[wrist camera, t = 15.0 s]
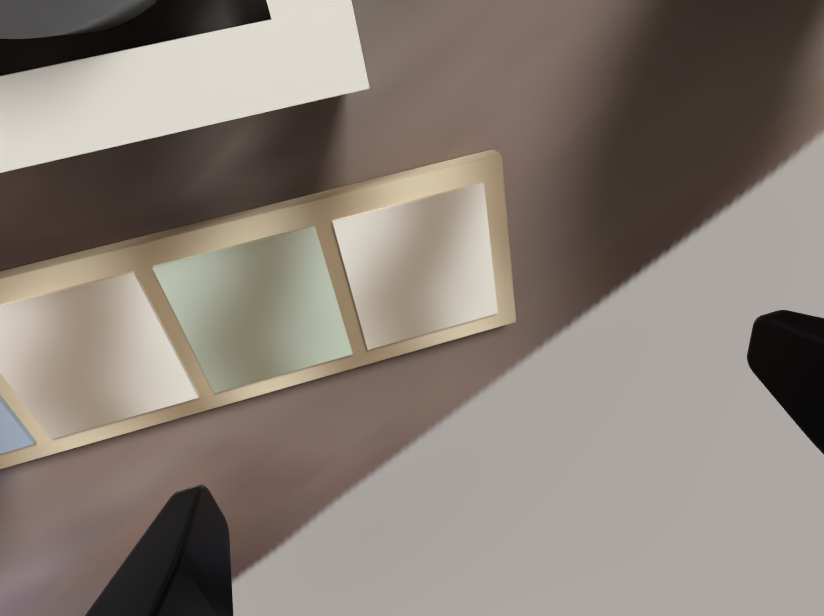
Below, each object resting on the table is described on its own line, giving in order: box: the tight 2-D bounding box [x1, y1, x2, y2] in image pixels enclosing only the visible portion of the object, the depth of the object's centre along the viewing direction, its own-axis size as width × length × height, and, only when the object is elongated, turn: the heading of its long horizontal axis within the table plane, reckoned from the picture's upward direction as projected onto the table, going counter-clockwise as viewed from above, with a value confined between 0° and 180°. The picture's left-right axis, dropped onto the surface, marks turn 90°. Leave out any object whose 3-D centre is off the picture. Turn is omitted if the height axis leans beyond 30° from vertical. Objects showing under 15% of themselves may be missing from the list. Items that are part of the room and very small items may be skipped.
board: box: [0, 149, 516, 469], centre depth 19 cm, size 25×7×1 cm, turn 100°
